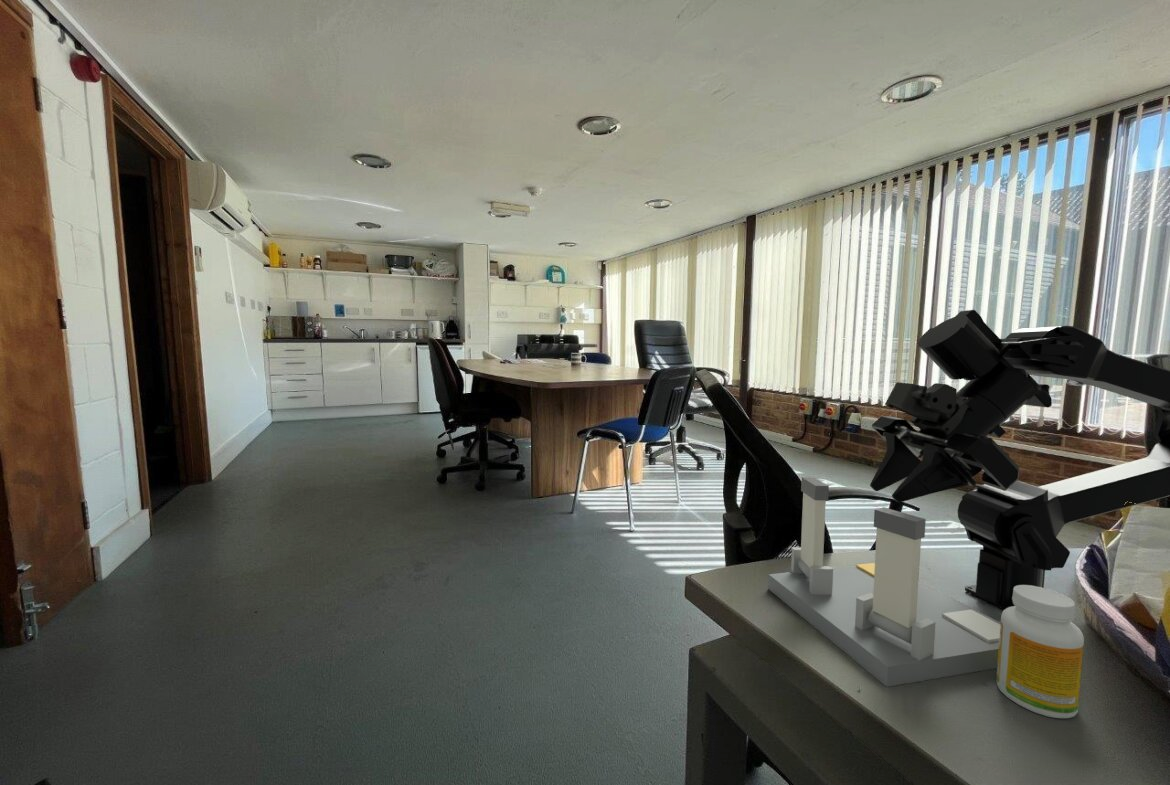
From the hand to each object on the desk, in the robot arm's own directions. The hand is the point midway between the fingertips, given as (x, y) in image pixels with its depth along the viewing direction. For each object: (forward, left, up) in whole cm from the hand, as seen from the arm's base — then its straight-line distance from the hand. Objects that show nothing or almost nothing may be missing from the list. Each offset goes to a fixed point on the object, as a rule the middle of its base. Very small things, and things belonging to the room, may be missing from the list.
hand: (883, 493), depth 59 cm
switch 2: (+8, +10, -10) cm, 17 cm away
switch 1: (+8, -2, -10) cm, 13 cm away
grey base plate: (+3, +4, -14) cm, 15 cm away
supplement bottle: (0, +18, -14) cm, 23 cm away
